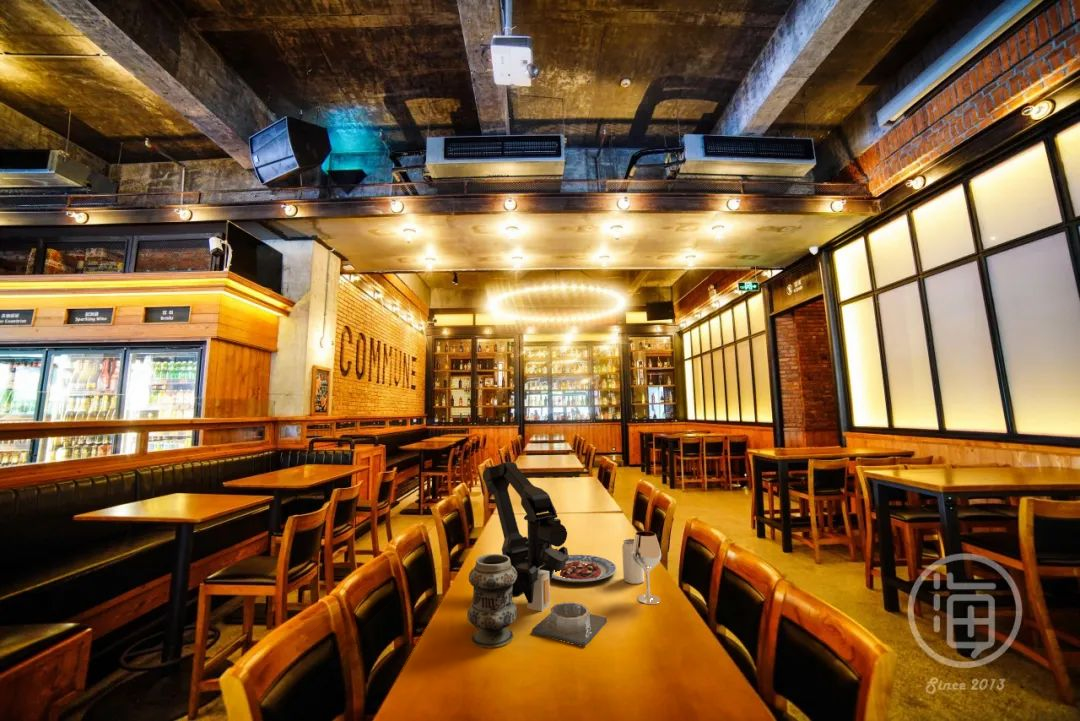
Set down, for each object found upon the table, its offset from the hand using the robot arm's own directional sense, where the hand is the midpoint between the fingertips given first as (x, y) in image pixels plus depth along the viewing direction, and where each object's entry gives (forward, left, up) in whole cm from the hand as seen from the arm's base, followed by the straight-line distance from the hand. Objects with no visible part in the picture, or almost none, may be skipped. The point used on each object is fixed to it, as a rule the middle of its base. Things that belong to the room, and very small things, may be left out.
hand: (538, 596), depth 119 cm
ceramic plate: (-1, +29, -3) cm, 29 cm away
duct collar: (+13, -7, -2) cm, 15 cm away
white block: (0, 0, -3) cm, 3 cm away
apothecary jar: (-1, -20, -3) cm, 20 cm away
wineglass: (+26, +18, -3) cm, 32 cm away
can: (+18, +30, -3) cm, 35 cm away
